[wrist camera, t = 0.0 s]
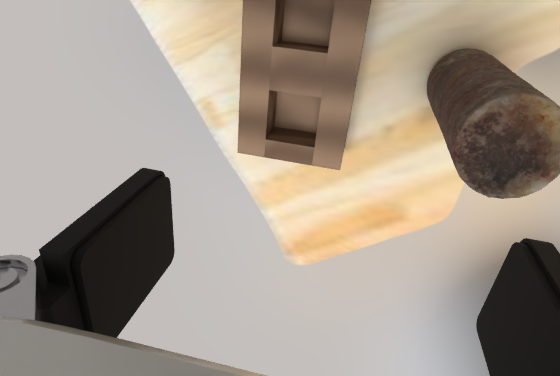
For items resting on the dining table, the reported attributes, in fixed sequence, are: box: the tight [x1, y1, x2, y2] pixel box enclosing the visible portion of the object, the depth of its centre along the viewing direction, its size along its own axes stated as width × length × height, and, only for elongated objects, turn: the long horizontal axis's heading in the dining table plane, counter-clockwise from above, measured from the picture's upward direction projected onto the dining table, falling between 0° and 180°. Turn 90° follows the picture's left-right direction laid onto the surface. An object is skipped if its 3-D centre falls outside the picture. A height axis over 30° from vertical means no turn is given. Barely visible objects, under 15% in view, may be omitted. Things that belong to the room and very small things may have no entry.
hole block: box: [238, 0, 371, 170], centre depth 42 cm, size 20×12×6 cm, turn 175°
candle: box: [427, 49, 560, 199], centre depth 33 cm, size 8×7×20 cm
